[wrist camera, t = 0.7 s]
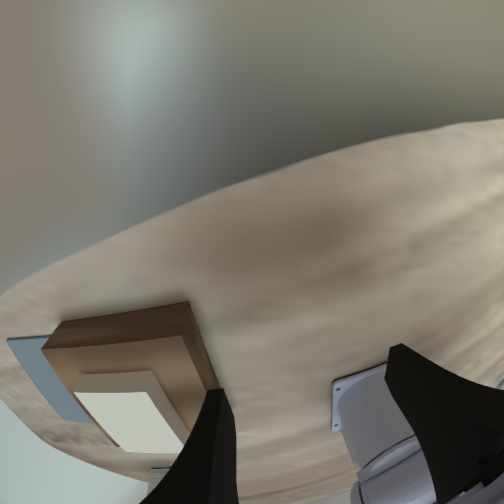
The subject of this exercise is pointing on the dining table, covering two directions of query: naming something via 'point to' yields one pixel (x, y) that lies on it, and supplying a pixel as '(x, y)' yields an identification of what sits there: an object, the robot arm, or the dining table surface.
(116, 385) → the tile
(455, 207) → the dining table surface
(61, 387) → the mat
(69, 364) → the block
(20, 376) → the dining table surface
